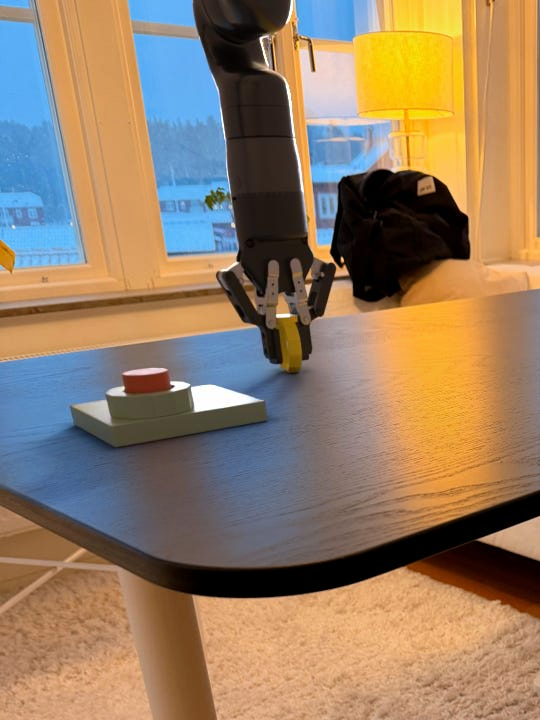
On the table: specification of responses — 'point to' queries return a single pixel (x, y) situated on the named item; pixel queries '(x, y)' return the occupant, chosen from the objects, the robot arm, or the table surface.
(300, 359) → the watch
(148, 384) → the button
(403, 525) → the table surface
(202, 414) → the console
